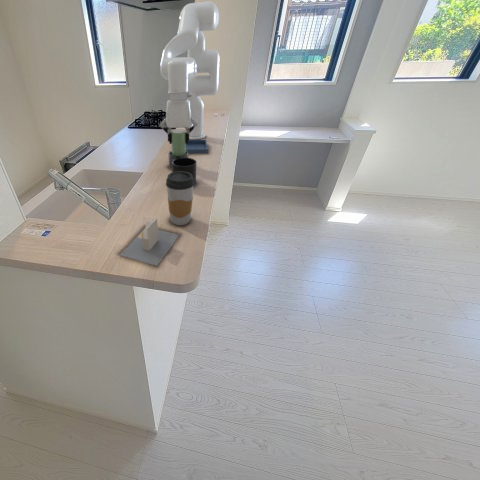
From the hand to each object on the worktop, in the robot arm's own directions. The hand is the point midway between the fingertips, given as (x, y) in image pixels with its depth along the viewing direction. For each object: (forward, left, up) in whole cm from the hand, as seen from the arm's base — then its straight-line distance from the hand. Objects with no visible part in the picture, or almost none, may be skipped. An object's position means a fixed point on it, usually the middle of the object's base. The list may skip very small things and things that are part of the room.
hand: (178, 142), depth 116 cm
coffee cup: (+46, +2, -11) cm, 48 cm away
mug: (+17, +3, -11) cm, 21 cm away
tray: (-25, +7, -11) cm, 28 cm away
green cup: (0, 0, -7) cm, 7 cm away
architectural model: (+59, -6, -11) cm, 61 cm away
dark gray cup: (0, 0, -11) cm, 11 cm away
